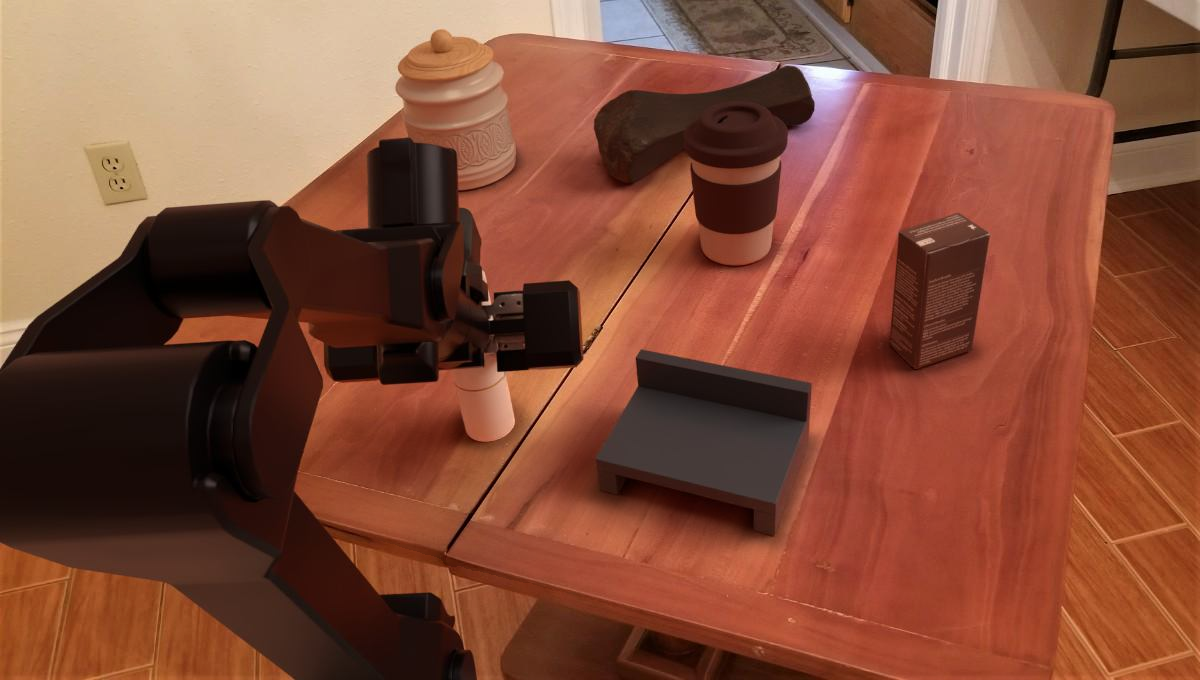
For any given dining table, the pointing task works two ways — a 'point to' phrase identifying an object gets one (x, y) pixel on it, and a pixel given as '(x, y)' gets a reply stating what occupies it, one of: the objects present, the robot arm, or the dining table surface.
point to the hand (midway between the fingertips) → (477, 345)
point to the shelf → (711, 434)
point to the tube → (484, 397)
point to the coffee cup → (735, 179)
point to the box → (937, 289)
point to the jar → (458, 105)
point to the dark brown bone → (685, 119)
